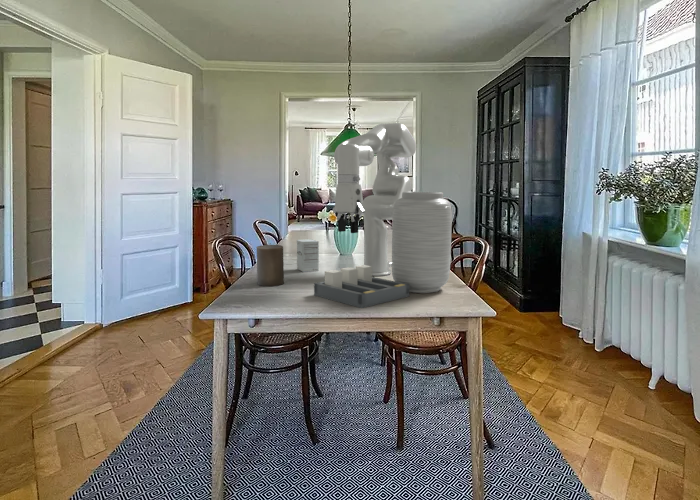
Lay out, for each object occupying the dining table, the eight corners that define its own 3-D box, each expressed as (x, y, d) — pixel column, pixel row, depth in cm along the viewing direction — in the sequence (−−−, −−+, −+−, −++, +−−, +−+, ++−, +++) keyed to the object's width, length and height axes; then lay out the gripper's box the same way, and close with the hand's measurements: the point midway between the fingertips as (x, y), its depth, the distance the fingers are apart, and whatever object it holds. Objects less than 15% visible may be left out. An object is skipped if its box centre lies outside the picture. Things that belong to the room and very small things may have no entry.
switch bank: (314, 295, 159) (314, 282, 159) (361, 285, 174) (361, 274, 174) (361, 308, 144) (361, 294, 143) (409, 296, 159) (409, 283, 158)
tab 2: (355, 286, 168) (355, 266, 167) (363, 284, 171) (363, 265, 170) (363, 288, 165) (363, 267, 164) (371, 286, 168) (372, 266, 167)
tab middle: (340, 289, 163) (340, 268, 162) (349, 287, 166) (349, 267, 165) (348, 291, 160) (348, 270, 159) (357, 289, 163) (357, 268, 162)
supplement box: (296, 269, 206) (296, 239, 204) (313, 268, 209) (312, 238, 207) (302, 272, 199) (302, 241, 198) (319, 271, 203) (319, 240, 201)
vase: (381, 284, 176) (383, 191, 171) (430, 280, 183) (432, 191, 179) (408, 297, 157) (410, 193, 153) (461, 292, 165) (465, 192, 160)
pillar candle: (289, 283, 178) (288, 242, 175) (267, 287, 170) (267, 245, 168) (272, 279, 184) (272, 240, 182) (251, 283, 177) (250, 242, 175)
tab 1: (324, 292, 158) (324, 271, 157) (333, 290, 161) (333, 269, 160) (332, 294, 156) (332, 273, 155) (342, 292, 158) (342, 271, 157)
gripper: (373, 180, 165) (373, 233, 168) (339, 180, 177) (339, 229, 180) (358, 180, 160) (357, 235, 162) (323, 180, 172) (324, 231, 175)
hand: (348, 231), depth 171 cm, fingers open, 5 cm apart
